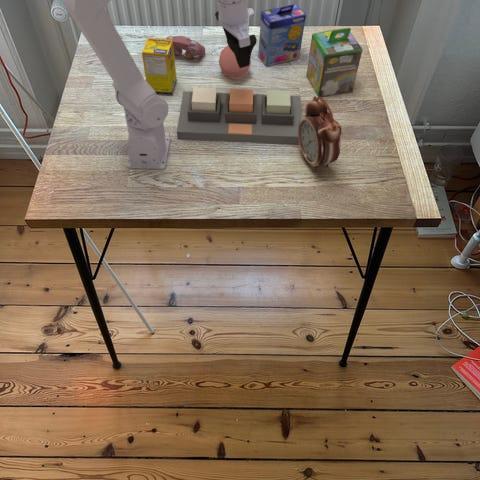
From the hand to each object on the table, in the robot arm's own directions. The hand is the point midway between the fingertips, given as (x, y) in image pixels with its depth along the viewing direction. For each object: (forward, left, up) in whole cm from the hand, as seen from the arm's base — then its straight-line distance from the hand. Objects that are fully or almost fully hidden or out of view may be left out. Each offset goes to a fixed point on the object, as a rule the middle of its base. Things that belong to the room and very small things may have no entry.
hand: (238, 54), depth 107 cm
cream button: (-5, +7, -10) cm, 13 cm away
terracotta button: (-5, -1, -10) cm, 11 cm away
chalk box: (+10, -22, -13) cm, 27 cm away
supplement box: (+6, +18, -13) cm, 23 cm away
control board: (-5, -1, -13) cm, 14 cm away
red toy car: (+19, +14, -13) cm, 27 cm away
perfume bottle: (+12, +1, -13) cm, 18 cm away
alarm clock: (-17, -17, -13) cm, 28 cm away
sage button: (-5, -9, -10) cm, 14 cm away
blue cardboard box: (+20, -10, -13) cm, 26 cm away
